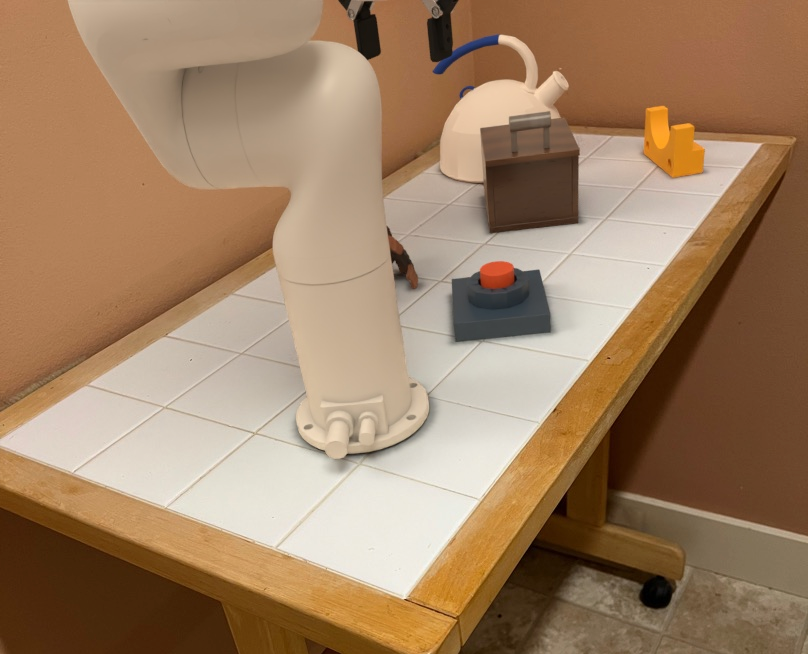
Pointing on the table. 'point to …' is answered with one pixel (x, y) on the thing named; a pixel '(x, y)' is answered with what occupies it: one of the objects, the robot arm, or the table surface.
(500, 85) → the kettle
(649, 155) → the pipe clamp
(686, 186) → the table surface
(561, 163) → the lidded box
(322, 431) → the robot arm
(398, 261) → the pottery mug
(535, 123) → the box lid
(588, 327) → the table surface
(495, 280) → the button
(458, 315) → the control block
